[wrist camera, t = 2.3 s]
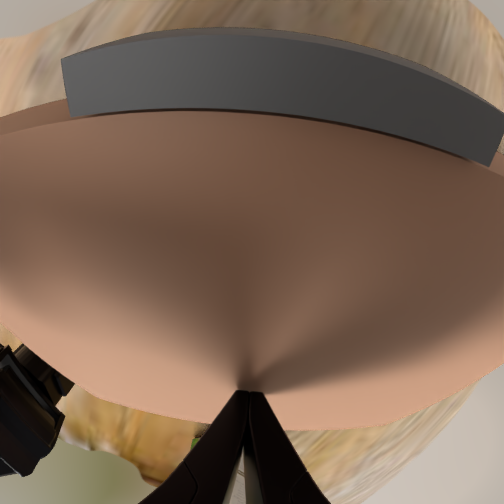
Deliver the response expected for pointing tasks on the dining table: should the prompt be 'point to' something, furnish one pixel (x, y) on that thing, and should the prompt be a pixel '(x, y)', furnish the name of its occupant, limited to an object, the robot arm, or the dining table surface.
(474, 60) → the dining table surface
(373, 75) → the lid
